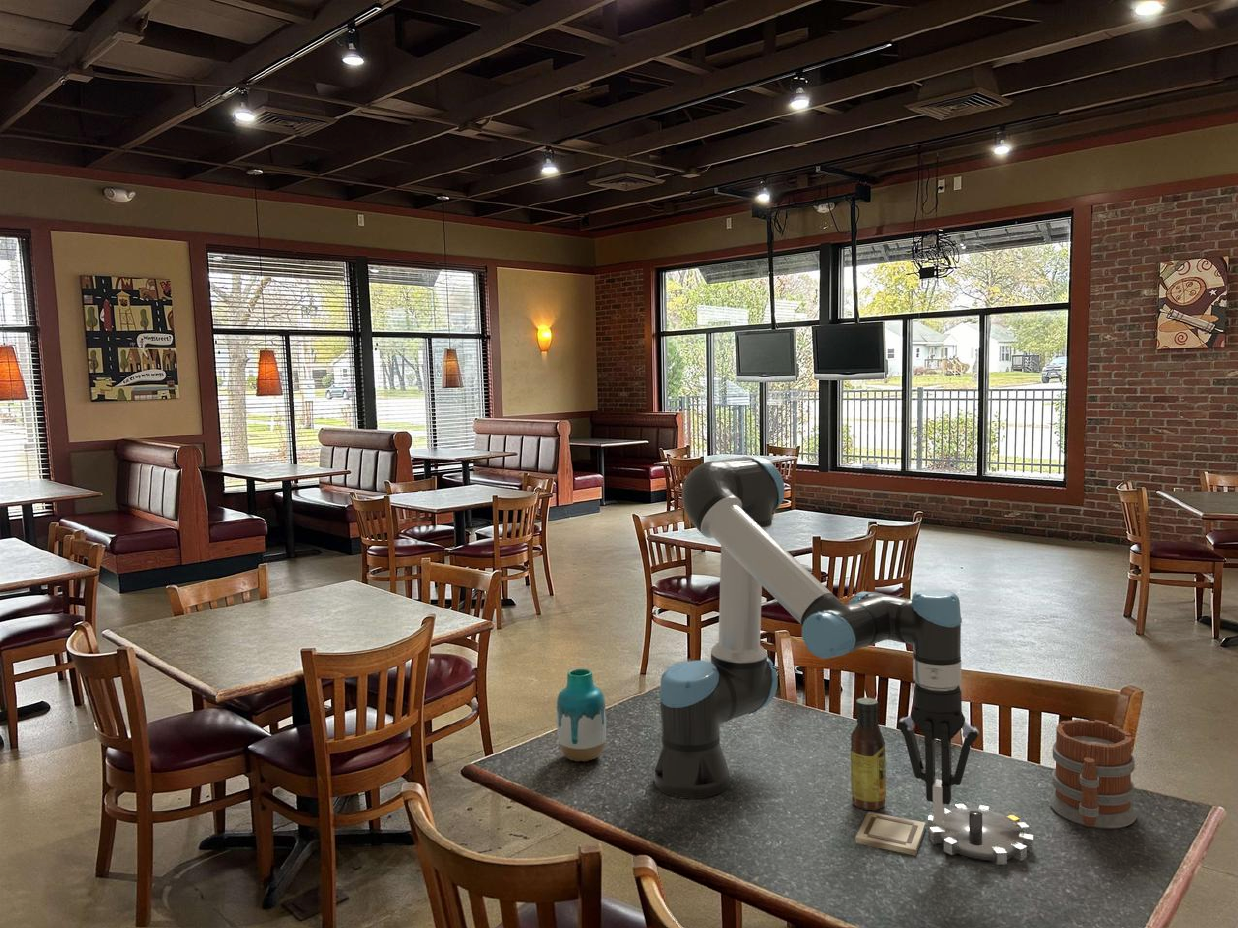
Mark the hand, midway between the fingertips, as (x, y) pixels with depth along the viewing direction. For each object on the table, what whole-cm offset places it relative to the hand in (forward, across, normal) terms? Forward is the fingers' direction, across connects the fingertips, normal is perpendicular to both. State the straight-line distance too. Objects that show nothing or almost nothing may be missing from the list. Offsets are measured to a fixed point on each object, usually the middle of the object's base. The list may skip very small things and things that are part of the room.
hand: (939, 819), depth 148 cm
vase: (+5, -74, +8) cm, 75 cm away
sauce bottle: (+5, -14, +12) cm, 19 cm away
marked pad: (+5, -8, +2) cm, 10 cm away
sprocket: (+5, +6, +6) cm, 10 cm away
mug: (+6, +23, +23) cm, 33 cm away
